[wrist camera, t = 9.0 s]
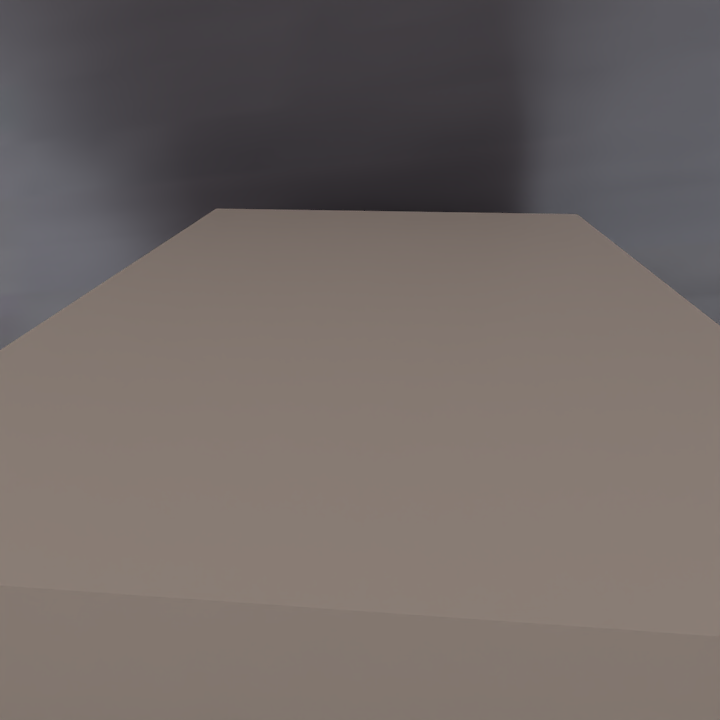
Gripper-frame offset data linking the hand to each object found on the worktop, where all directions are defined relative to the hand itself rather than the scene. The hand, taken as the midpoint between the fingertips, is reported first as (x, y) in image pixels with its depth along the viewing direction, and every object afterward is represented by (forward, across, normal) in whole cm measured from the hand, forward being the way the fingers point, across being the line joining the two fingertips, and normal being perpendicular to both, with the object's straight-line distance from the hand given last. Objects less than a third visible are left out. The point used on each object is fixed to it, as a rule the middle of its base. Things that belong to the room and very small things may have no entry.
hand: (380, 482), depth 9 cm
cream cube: (+4, 0, 0) cm, 4 cm away
